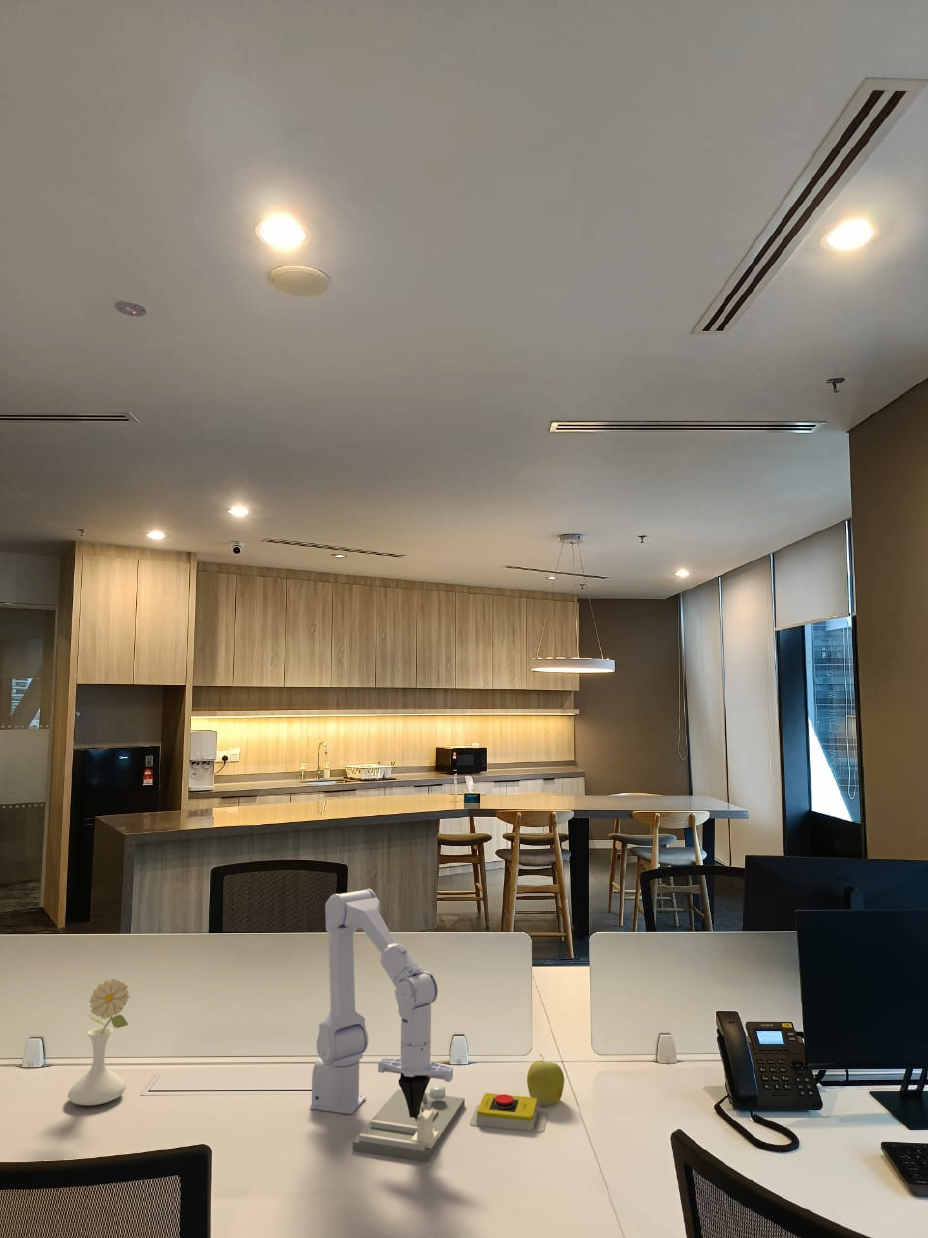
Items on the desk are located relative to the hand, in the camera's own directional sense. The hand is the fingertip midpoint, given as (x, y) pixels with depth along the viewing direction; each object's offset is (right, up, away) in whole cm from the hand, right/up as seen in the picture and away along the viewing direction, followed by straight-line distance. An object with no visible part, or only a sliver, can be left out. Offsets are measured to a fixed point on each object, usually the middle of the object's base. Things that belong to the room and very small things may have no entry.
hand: (414, 1115), depth 163 cm
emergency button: (+19, -8, +12) cm, 23 cm away
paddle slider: (+2, -4, -1) cm, 5 cm away
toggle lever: (+2, -4, +9) cm, 10 cm away
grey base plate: (-1, -7, +8) cm, 10 cm away
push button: (+4, -5, +16) cm, 17 cm away
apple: (+27, -9, +19) cm, 34 cm away
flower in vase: (-68, -8, +19) cm, 71 cm away
